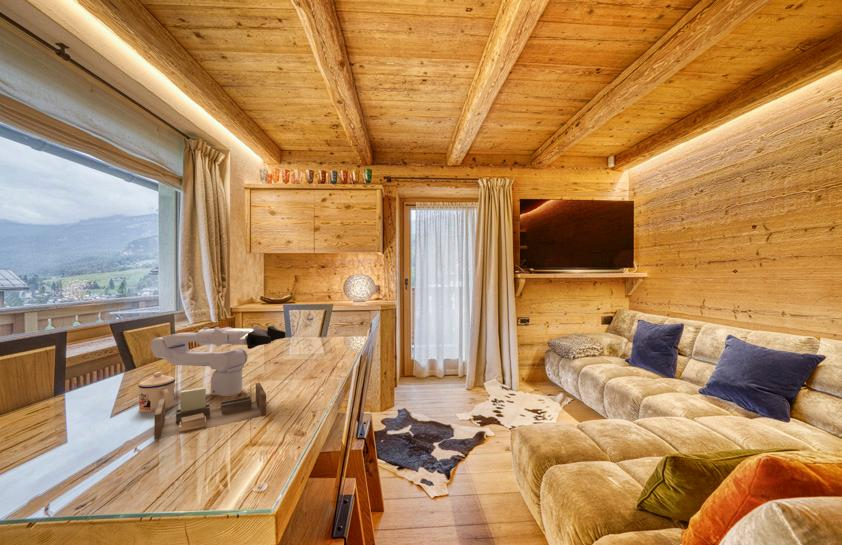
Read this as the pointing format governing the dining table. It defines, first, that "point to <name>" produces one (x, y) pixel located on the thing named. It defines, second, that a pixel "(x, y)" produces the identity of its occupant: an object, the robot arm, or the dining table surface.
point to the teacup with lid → (156, 392)
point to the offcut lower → (192, 426)
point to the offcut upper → (192, 419)
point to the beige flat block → (193, 399)
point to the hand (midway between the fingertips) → (278, 337)
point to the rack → (211, 414)
